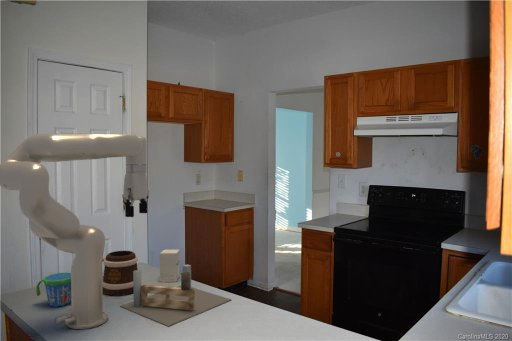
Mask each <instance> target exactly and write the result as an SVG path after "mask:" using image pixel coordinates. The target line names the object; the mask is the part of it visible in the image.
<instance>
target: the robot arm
mask: <svg viewBox="0 0 512 341" xmlns="http://www.w3.org/2000/svg"><path fill="white" fill-rule="evenodd" d="M147 152H148V151H147V138H146V137H144V136H143V135H142V136H141V135H140V136H139V135H137V134H133V133H132V134H129V133H128V134H105V133H103V134H102V133H85V132H84V133H83V132H81V133H38V134H37V133H36V134H32V135H30V136H28V137H26V139H24V140H23V141H22V142H21V143H20V144H19V145H18V146H17V147H16V148H15V149H14V150H13V151H12V152H10V154H9V155H7V157H6V158H5V159H3V161H2V162H1V163H0V187H1V188H3V189H4V190H8V191H15V192H16V191H18V192H19V194H18V195H19V196H18V202H19V208H20V211H21V213H22V215H24V216H25V218H27V219H28V226H29V228H30V231H31V232H32V233H33V234H34V236H35V237H37V238H39V239H40V240H42V241H43V242H45V243H47V244H49V245H50V246H52V247H53V248H55V249H57V250H59V251H61V252H63V253H70V254H74V259H73V260H72V262H71V268H70V273H71V302H70V303H71V304H70V305H71V309H69V310H67V313H66V314H65V315H62V316H58V317H56V318H55V323H56V324H57V325H59V324H62V323H64V325H66V327H68V328H69V329H74V330H87V329H92V328H96V327H98V326H100V325H103V324H105V323H106V322H107V321H108V319H109V315H108V313H107V312H105V311H104V310H103V309H104V307H103V306H104V303H103V301H104V300H103V299H104V295H103V294H104V292H103V285H102V275H103V262H102V260H103V256H104V252H105V245H106V236H105V233H104V232H103V230H102V229H100V228H99V227H96V226H94V225H87V224H81V223H80V219H79V218H78V216H77V215H76V214H75V213H74V212H72V211H71V210H70V209H68V208H67V207H65V206H64V205H63V204H61V203H60V202H59V201H57V200H56V199H55V198H54V197H52V195H51V193H50V175H49V172H48V170H47V168H46V167H45V166H44V165H43V164H42V162H45V163H46V162H49V163H50V162H53V163H58V162H72V161H86V160H89V161H90V160H101V159H109V158H124V157H125V173H124V174H125V175H124V180H123V190H122V191H123V193H122V195H121V196H122V202H123V203H124V204H123V206H124V212H125V213H124V215H125V218H134V217H135V206H134V203H135V201H139V203H138V204H139V205H138V208H139V210H138V213H139V214H148V203H149V200H148V199H149V198H150V196H149V195H150V190H149V189H148V177H147V173H148V172H147V171H148V170H147V167H148V166H147V164H148V159H147V157H148V156H147Z"/></svg>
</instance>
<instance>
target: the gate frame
mask: <svg viewBox="0 0 512 341" xmlns="http://www.w3.org/2000/svg"><path fill="white" fill-rule="evenodd" d="M182 272H190V289H191V287H192V265H191V264H184V265H182ZM133 284H134V292H133V301H134V307H141V306H142V305H141V286H142V285H143V284H142V270H140V269H138V270H135V271H133Z"/></svg>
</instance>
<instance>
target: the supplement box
mask: <svg viewBox="0 0 512 341" xmlns="http://www.w3.org/2000/svg"><path fill="white" fill-rule="evenodd" d="M180 251H181V250H180V249H163V250H162V251H161V252H160V253H159V282H160V283H161V282H162V283H176V282H177V281H178V280H179V278H181V277H180V276H181V275H180V274H181V273H180V271H181V270H180V267H181V266H180V265H181V264H180Z"/></svg>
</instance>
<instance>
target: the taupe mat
mask: <svg viewBox="0 0 512 341" xmlns="http://www.w3.org/2000/svg"><path fill="white" fill-rule="evenodd" d="M177 287H178V288H181V285H179V286H177ZM191 289H195V309H194V310H184V309H174V308H163V307H153V306H143V305H142V306H141V307H134V300H133V301H130V302H127V303H124V304H120V305H119V307H120V308H122V309H124V310H126V311H128V312H132V313H134V314H135V315H139V316H141V317H144V318H146V319H149V320H151V321H153V322H156V323H158V324H161V325H163V326H166V327H168V328H169V327H171V326H174V325H177V324H179V323H181V322H184V321H187V320H188V319H191V318H193V317H195V316H198V315H200V314H203V313H205V312H207V311H210V310H211V309H215V308H217V307H219V306H221V305H224V304H226V303H228V302H231V301H232V298H228V297H225V296H221V295H218V294H215V293H212V292H208V291H205V290H202V289H198V288H195V287H192V286H191ZM148 298H157V299H166V295H162V294H151V295H149V296H148ZM170 300H179V301H188V297H184V296H173V295H170Z"/></svg>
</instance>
